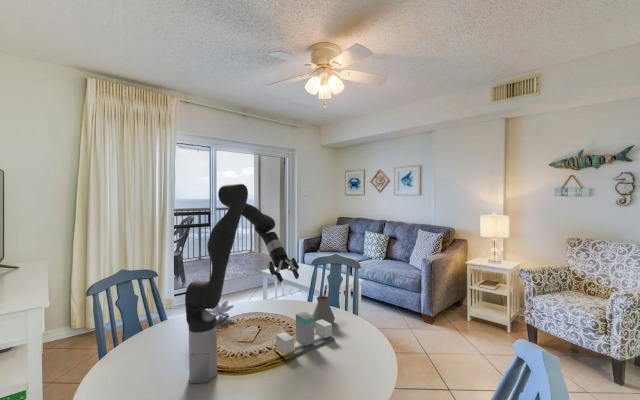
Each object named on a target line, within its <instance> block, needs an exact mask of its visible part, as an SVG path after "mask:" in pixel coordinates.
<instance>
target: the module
mask: <svg viewBox="0 0 640 400" xmlns="http://www.w3.org/2000/svg"><path fill="white" fill-rule="evenodd" d="M314 333H315V324H314V316H313V314H310V313H309V312H306V311H305V310H304V311H302V312H298V313H296V314H295V340H297V341H299V342H300V343H302V344H303V345H305V346H307V345H309V344H312V343H314Z"/></svg>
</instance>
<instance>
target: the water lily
mask: <svg viewBox="0 0 640 400" xmlns="http://www.w3.org/2000/svg"><path fill="white" fill-rule="evenodd" d="M228 303H229V301H228V300H225V301H224V302H222V303H221V304H219V303H218V305H217V306H216V307H215V308H214V309H206V310H207V311H208V312H209V313H211V314H213V315H214V316H215V317H216V318H217V317H219V323H220V322H221V323H222V318H221V317H228V316H230V315H229V314H230V313H227V312H229V311H230V310H231V309H233V308H234V307H235V305H230V306H229V304H228Z"/></svg>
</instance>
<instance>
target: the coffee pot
mask: <svg viewBox="0 0 640 400" xmlns="http://www.w3.org/2000/svg"><path fill="white" fill-rule="evenodd" d="M327 289H328V285H327V284H325V285H324V290H323V295H320V296H317V297H316V300H317V304H316V306H315V308H314V312H313V314H312V316H314V325H315V321H318V320H321V319H323V320H325V321H327V322H329V323H331V324H332V325H333V323H334V322H335V315H334V312H333V310H332V308H331V306H330V303H329V301H330V300H331V298H330V297H329V296H326V295H327Z"/></svg>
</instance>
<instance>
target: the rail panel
mask: <svg viewBox="0 0 640 400" xmlns="http://www.w3.org/2000/svg"><path fill="white" fill-rule="evenodd" d="M275 336H276V338H275V339H276V347H275V348H278V351H280V352H281V353H283V352H284V353H285V354H287V353H289V352H292V351H294V347H295V346H296V347H298V349H297V350H296V351H295V352H293V353H292V354H290V355H288V356H286V357H285V359H286V360H285V359H284V360H285V361H288V360H289V359H292V358H294V357H297V356H299V355H302V354H304V353H306V352H309V351H312V350H314V349H316V348H317V349H318V348H319V347H321V346H324V345H326V344H328V343H331V342H333V341H335V338H336V337H334V336H333V323H332V324H331V323H329V322H327V321H325V320H323V319H321V320H318V321H315V324H314V343H312V344H309V345H307V346H305V345H303V344H302V343H300V342H299V341H298V342H295V343H294V341H295V337H293V336H292V335H290V334H289V333H287V332H285V331H283V332H281V333H277V334H276V335H275Z"/></svg>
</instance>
